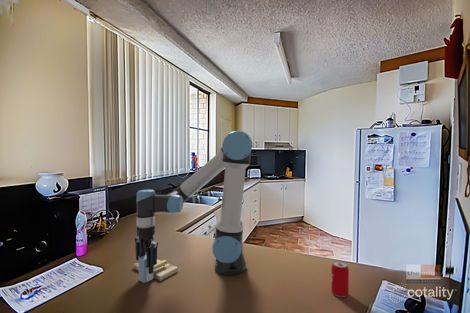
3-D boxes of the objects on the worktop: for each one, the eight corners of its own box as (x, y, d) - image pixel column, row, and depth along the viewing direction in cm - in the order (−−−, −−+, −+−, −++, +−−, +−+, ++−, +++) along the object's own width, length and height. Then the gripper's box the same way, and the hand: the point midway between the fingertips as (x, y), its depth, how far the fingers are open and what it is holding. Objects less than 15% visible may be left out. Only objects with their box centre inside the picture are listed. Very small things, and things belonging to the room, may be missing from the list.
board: (177, 271, 114) (177, 267, 114) (160, 280, 106) (160, 276, 106) (151, 260, 126) (151, 256, 126) (133, 268, 118) (133, 264, 118)
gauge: (168, 270, 115) (168, 249, 115) (144, 283, 104) (144, 259, 104) (162, 268, 117) (162, 247, 117) (138, 280, 106) (138, 257, 106)
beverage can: (343, 289, 100) (344, 260, 99) (351, 298, 94) (351, 267, 93) (328, 289, 100) (328, 260, 99) (335, 298, 93) (335, 267, 93)
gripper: (165, 226, 105) (166, 280, 105) (141, 220, 115) (141, 269, 115) (151, 231, 99) (151, 288, 99) (126, 224, 108) (127, 276, 109)
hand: (146, 278), depth 107 cm, fingers closed on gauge, 4 cm apart
